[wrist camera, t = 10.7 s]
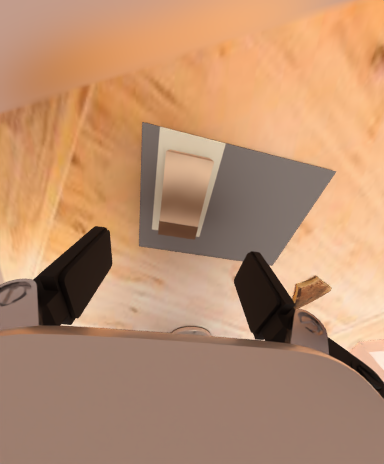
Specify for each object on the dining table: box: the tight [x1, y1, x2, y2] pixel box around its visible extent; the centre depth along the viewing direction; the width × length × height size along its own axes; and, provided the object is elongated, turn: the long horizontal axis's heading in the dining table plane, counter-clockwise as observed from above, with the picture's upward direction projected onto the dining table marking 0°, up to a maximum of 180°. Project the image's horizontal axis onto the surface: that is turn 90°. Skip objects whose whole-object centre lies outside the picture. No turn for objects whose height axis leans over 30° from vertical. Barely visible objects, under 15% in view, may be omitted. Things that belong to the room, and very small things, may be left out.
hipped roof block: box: [349, 339, 384, 382], centre depth 58 cm, size 45×22×10 cm, turn 11°
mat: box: [139, 122, 336, 266], centre depth 23 cm, size 18×26×1 cm
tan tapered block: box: [158, 149, 214, 240], centre depth 19 cm, size 10×5×4 cm, turn 169°
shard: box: [292, 277, 332, 310], centre depth 35 cm, size 11×8×2 cm
